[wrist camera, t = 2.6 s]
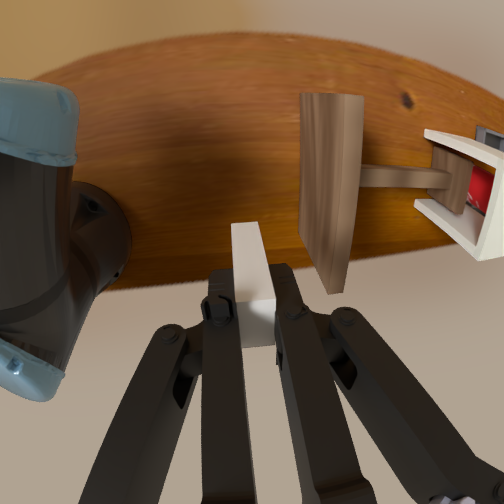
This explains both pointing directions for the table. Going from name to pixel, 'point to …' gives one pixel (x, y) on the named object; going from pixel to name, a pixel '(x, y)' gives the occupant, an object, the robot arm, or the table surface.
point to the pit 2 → (490, 138)
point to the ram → (354, 180)
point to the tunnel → (471, 222)
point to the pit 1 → (475, 208)
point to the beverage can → (480, 188)
